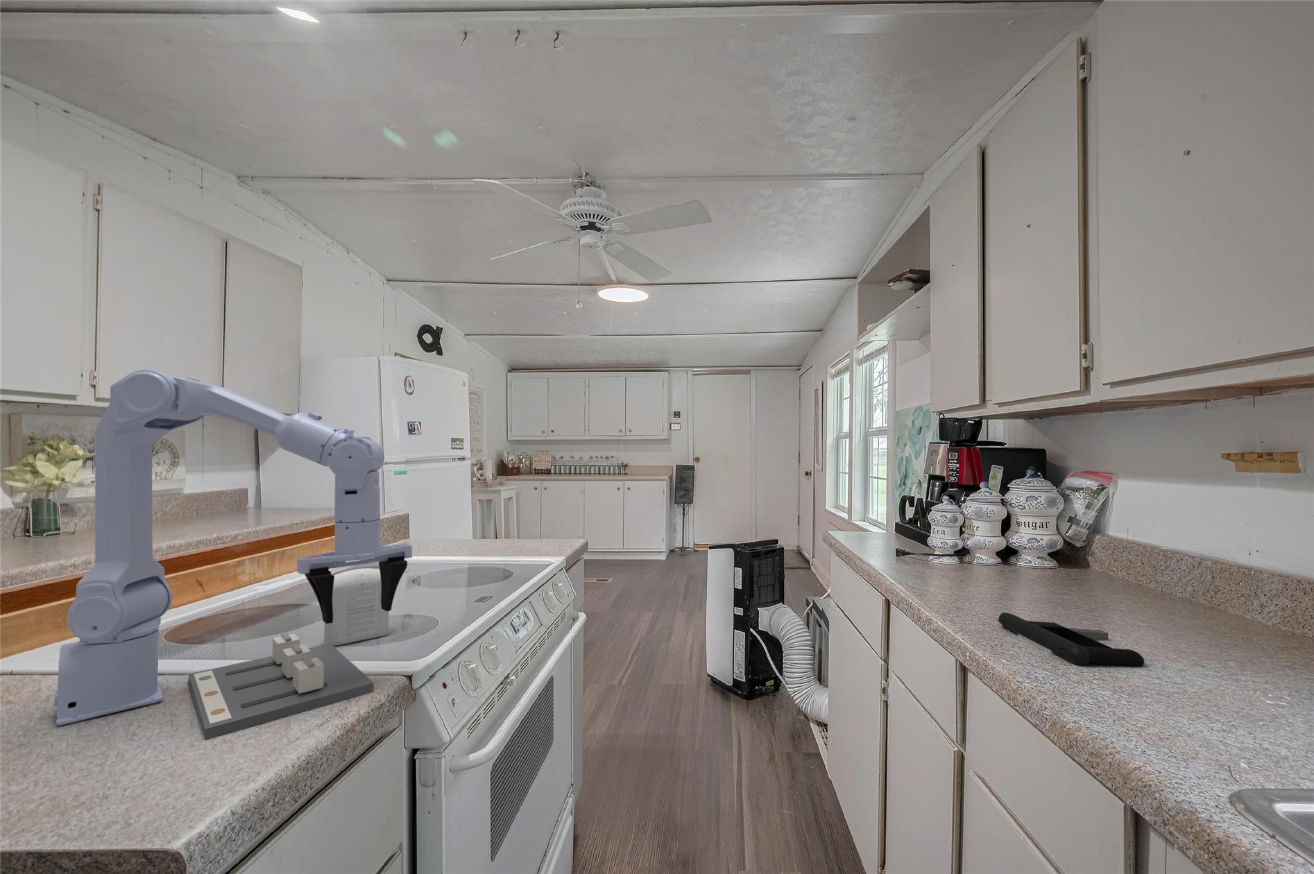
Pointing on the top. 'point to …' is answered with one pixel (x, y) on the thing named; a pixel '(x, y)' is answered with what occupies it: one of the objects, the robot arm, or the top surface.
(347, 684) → the switch board
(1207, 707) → the top surface
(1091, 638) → the door handle
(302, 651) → the middle tab
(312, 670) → the near tab
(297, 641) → the far tab
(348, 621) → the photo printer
